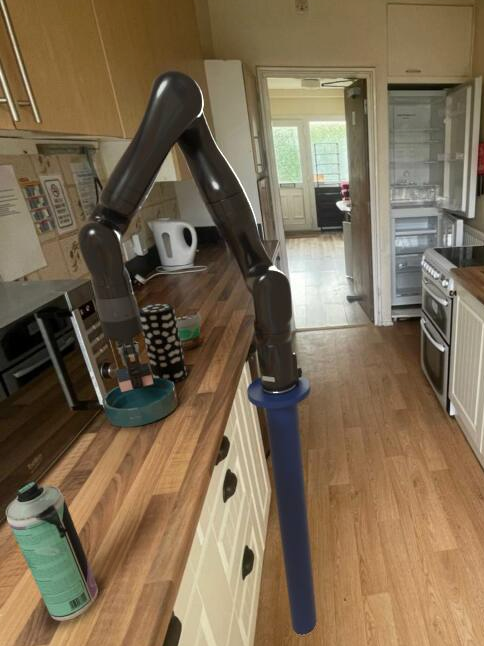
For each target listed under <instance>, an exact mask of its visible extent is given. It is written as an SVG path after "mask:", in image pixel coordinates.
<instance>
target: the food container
mask: <svg viewBox="0 0 484 646" xmlns="http://www.w3.org/2000/svg"><path fill="white" fill-rule="evenodd" d="M201 320H202V317H201V314H200V313H199V311H198V310H197V311H196V313H194V314H191V315H182V316H178V317H177V316H176V321H177V326H178V331H179V336H180V341H181V346H182V351H186V350H191V349H194V348H197V347H198V346H200V345H201V342H202V341H201V327H200V322H201Z"/></svg>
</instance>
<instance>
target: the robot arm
mask: <svg viewBox="0 0 484 646" xmlns="http://www.w3.org/2000/svg"><path fill="white" fill-rule="evenodd" d="M149 93H150V94H149V98H148V101H147V104H146V108H145V111H144V115H143V116H142V119H141V122H140V123H139V126H138V128H137V129H136V132H135V134H134V136H133V138H132V139H131V140H130V143H129V144H128V146H127V147H126V149H125V150H124V152H123V153H122V155H121V156H120V158H119V160H118V161H117V162H116V164H115V166H114V168H113V169H112V171H111V172H110V175H109V177H108V179H107V180H106V182H105V183H104V186H103V187H102V190H101V192H100V194H99V198H98V202H97V203H96V205H95V206H94V208H93V210H92V211H91V213H90V214H89V217H88V218H87V220H86V221H85V223H84V224H83V225H82V226H81V227H80V228H79V230H78V232H77V244H78V248H79V251H80V254H81V256H82V259H83V262H84V264H85V266H86V268H87V271H88V273H89V276H90V282H91V286H92V290H93V294H94V297H95V307H96V310H97V311H96V312H97V315H98V318H99V322H100V326H101V330H102V333H103V337H104V339H106V340H109V341H115V347H116V349H117V352H118V354H119V357H120V360H121V361H122V365H123V366H125V367H124V368H127V370H128V372H127V373H128V375H129V376H130V380H131V384H132V388H133V389H139V388H142V387H143V386H144V385H143V381H142V377H141V373H142V369H141V365H140V364H141V362H142V360H141V357H140V352H139V350H140V346H139V343H138V342H137V340H136V339H137V338H135V337H138V336H140V335H142V334H143V326H142V322H141V318H140V313H139V305H138V301H137V298H136V296H135V292H134V290H133V285H132V284H133V283H132V280H131V276H130V273H129V271H128V269H127V268H126V266H125V260H124V256H123V251H122V246H121V245H122V242H123V240H124V238H125V236H126V234H127V232H128V229H129V228H130V225H131V223H132V221H133V219H134V218H135V217H136V216H137V214H138V213H139V212H140V210H141V208H142V207H143V205H144V204H145V202H146V199H148V196H149V194H150V192H151V190H152V189H153V187H154V185H155V182H156V180H157V179H158V176H159V174H160V172H161V169H162V167H163V166H164V163H165V161H166V160H167V158H168V156H169V154H170V152H171V151H172V149H173V148H174V147H175V145H177V146H178V147H177V148H179V150H180V152H181V154H182V156H183V158H184V161H185V164H186V165H187V168H188V171H189V174H190V176H191V178H192V181H193V184H194V185H195V188H196V190H197V192H198V194H199V197H200V199H201V201H202V203H203V205H204V207H205V209H206V211H207V212H208V215H209V216H210V218H211V220H212V222H213V224H214V226H215V227H216V229H217V231H218V233H219V234H220V236H221V237H222V239H223V240H224V242H225V243H226V245H227V246H228V247H229V250H230V251H231V253H232V254H233V256H234V258H235V261H236V262H237V265H238V268H239V270H240V273H241V275H242V278H243V281H244V284H245V286H246V289H247V291H248V292H249V294H250V295H251V297H252V299H253V309H254V319H253V332H254V340H255V347H256V355H257V362H258V363H257V364H258V372H259V378H260V380H261V390H262V391H263V392H264V393H266V394H269V395H282V394H286V393H289V392H291V391H292V390H294V389H295V388H296V387H298V386H299V379H298V378H300V377H302V375H303V370H302V366H300V365H299V364H298V356H297V354H296V353H295V352H294V346H293V334H292V318H293V304H292V303H293V301H292V291H291V283H290V280H289V278H288V277H287V275H285V273H284V272H282V271H281V270H279V269H278V268H277V267H276V265H275V263H273V261H272V260H271V257H270V256H269V255H268V252H267V250H266V249H265V247H264V244H263V242H262V240H261V237H260V233H259V228H258V224H257V220H256V215H255V212H254V210H253V207H252V205H251V202H250V200H249V198H248V196H247V193H246V191H245V188H244V187H243V185H242V183H241V181H240V179H239V177H238V176H237V174H236V173H235V171H234V169H233V167H232V166H231V165H230V163H229V162H228V160H227V159H226V157H225V156H224V155H223V153H222V151H221V150H220V148H219V147H218V145H217V143H216V141H215V139H214V137H213V135H212V132H211V130H210V127H209V125H208V122H207V119H206V117H205V113H204V111H203V109H204V97H203V93H202V90H201V88H200V86H199V85H198V83H197V82H196V80H195V79H194V78H192V77H191V76H190V75H188V74H187V73H185V72H183V71H180V70H177V69H176V70H175V69H171V70H163V71H162V72H159V74H157V75H156V76H155V77H154V79H153V80H152V82H151V85H150V91H149ZM134 367H137V368H136V369H131V368H134Z"/></svg>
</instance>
